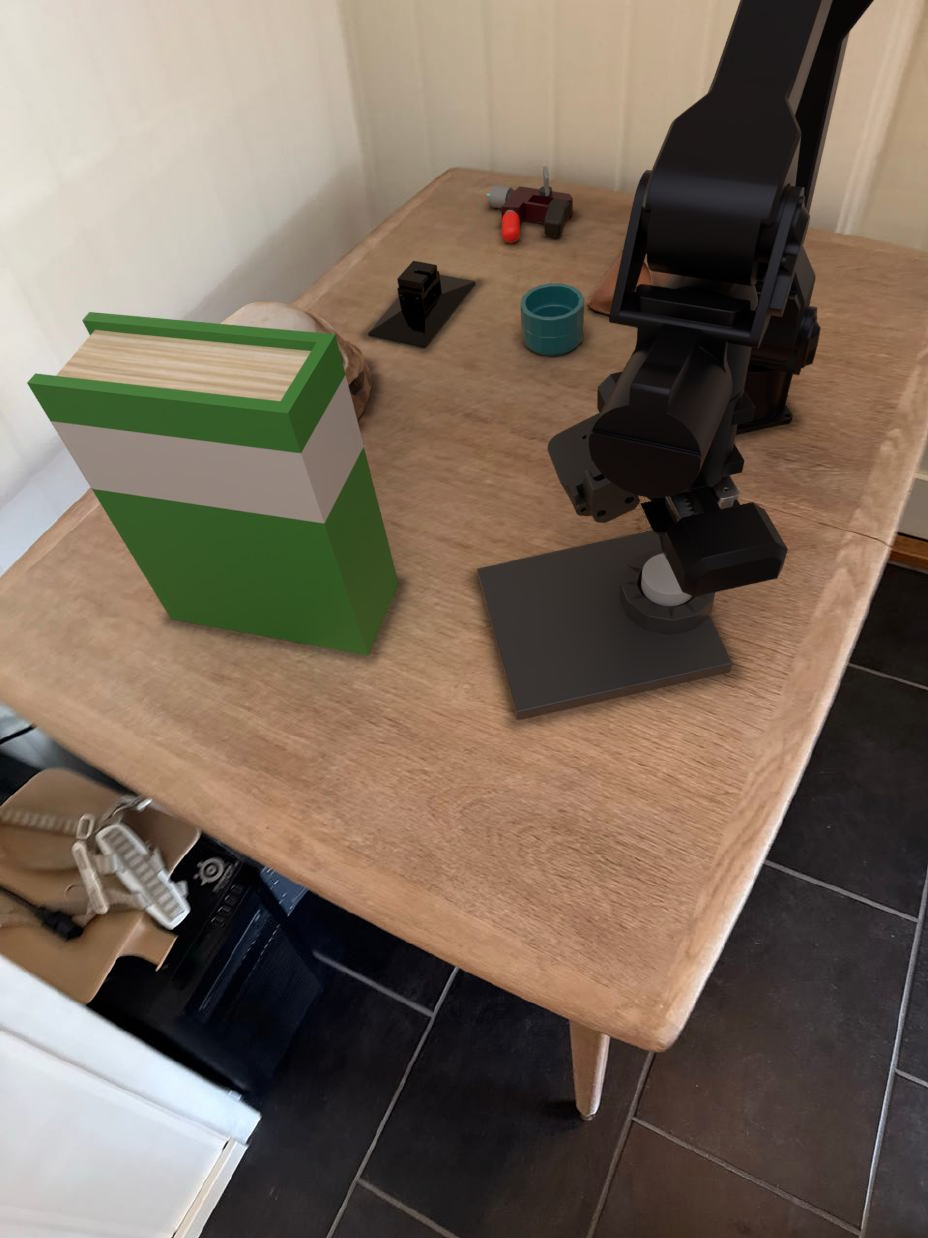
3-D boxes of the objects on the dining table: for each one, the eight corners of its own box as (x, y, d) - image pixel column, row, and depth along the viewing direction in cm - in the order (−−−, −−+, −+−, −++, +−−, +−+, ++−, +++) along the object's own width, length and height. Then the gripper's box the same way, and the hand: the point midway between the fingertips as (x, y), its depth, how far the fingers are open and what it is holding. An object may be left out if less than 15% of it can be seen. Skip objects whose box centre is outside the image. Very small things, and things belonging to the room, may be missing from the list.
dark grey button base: (677, 533, 73) (680, 508, 70) (743, 669, 64) (749, 646, 62) (477, 577, 72) (474, 553, 70) (517, 721, 63) (514, 699, 61)
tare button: (684, 561, 67) (686, 547, 66) (703, 600, 65) (705, 587, 64) (634, 572, 67) (635, 559, 66) (651, 612, 65) (652, 599, 64)
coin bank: (368, 351, 92) (336, 239, 80) (388, 475, 83) (356, 369, 71) (222, 383, 92) (170, 276, 81) (226, 510, 83) (169, 410, 72)
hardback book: (170, 618, 73) (26, 382, 54) (210, 552, 77) (89, 311, 58) (368, 655, 68) (287, 413, 49) (398, 583, 72) (335, 334, 53)
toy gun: (493, 197, 109) (489, 157, 105) (582, 212, 105) (583, 171, 101) (456, 238, 104) (451, 197, 100) (549, 255, 100) (547, 213, 96)
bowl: (574, 316, 92) (574, 277, 89) (590, 351, 88) (591, 311, 85) (516, 328, 92) (514, 290, 88) (531, 363, 88) (529, 324, 85)
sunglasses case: (638, 220, 101) (671, 173, 95) (686, 256, 102) (722, 213, 96) (582, 308, 92) (614, 262, 86) (635, 348, 93) (671, 305, 87)
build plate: (425, 350, 92) (418, 311, 88) (365, 337, 94) (356, 298, 90) (476, 283, 98) (472, 244, 94) (419, 273, 100) (413, 234, 97)
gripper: (521, 316, 56) (531, 491, 69) (607, 520, 45) (600, 685, 57) (689, 281, 57) (669, 461, 69) (816, 474, 45) (765, 648, 58)
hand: (671, 555), depth 63 cm, fingers closed
